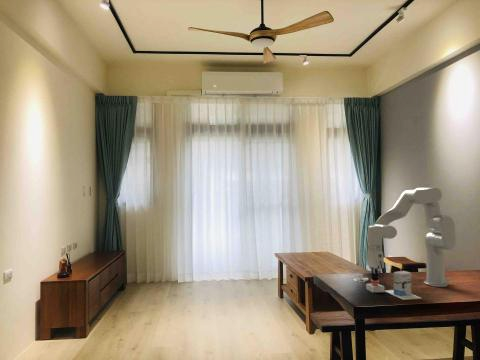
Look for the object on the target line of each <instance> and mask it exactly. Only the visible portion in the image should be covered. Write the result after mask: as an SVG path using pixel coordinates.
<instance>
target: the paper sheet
mask: <svg viewBox="0 0 480 360" xmlns="http://www.w3.org/2000/svg"><path fill="white" fill-rule="evenodd" d="M384 293H388V294H390V295H392V296H394V297H396V298H398V299H400V300H402V301H404V300H405V301H406V300H408V301H409V300H422V299H423V298H422V297H420V296H417V295H415V294H413V293H411V294H409V295H404V296H399V295H396V294H394V289H389V290H386V289H385V290H384Z"/></svg>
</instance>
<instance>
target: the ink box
mask: <svg viewBox="0 0 480 360" xmlns="http://www.w3.org/2000/svg"><path fill="white" fill-rule="evenodd" d="M393 290H394V294H396V295H399V296H404V295H409V294H412V272H411V271H410V272H409V271H406V270H400V271H394V272H393Z"/></svg>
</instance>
